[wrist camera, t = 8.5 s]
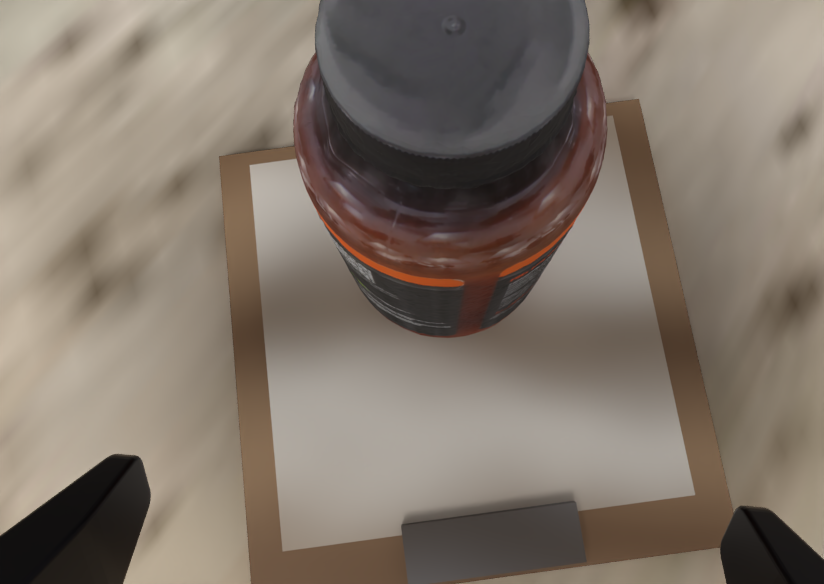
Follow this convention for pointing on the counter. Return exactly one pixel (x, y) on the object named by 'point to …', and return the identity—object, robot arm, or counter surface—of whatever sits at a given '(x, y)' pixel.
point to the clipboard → (468, 399)
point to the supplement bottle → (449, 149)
